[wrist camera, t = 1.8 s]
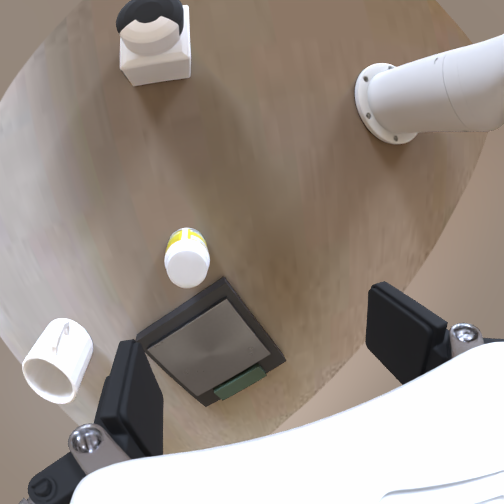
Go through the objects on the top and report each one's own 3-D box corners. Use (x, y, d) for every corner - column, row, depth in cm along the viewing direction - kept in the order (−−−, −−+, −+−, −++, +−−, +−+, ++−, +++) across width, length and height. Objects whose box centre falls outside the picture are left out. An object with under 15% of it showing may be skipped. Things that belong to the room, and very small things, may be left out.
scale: (224, 276, 38) (226, 285, 35) (282, 353, 43) (288, 364, 40) (137, 334, 37) (133, 346, 35) (204, 398, 43) (206, 411, 40)
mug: (105, 310, 35) (85, 351, 26) (88, 369, 37) (72, 412, 28) (55, 286, 33) (24, 320, 24) (44, 348, 35) (21, 387, 26)
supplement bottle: (169, 265, 36) (164, 293, 28) (166, 228, 34) (159, 247, 26) (207, 262, 37) (212, 290, 29) (205, 226, 35) (209, 244, 27)
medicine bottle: (131, 39, 26) (111, -8, 15) (188, 30, 27) (189, -21, 16) (132, 87, 28) (106, 53, 17) (190, 78, 30) (191, 38, 18)
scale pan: (225, 295, 36) (226, 298, 35) (269, 350, 40) (270, 354, 39) (147, 346, 36) (146, 349, 35) (196, 393, 40) (197, 396, 39)
